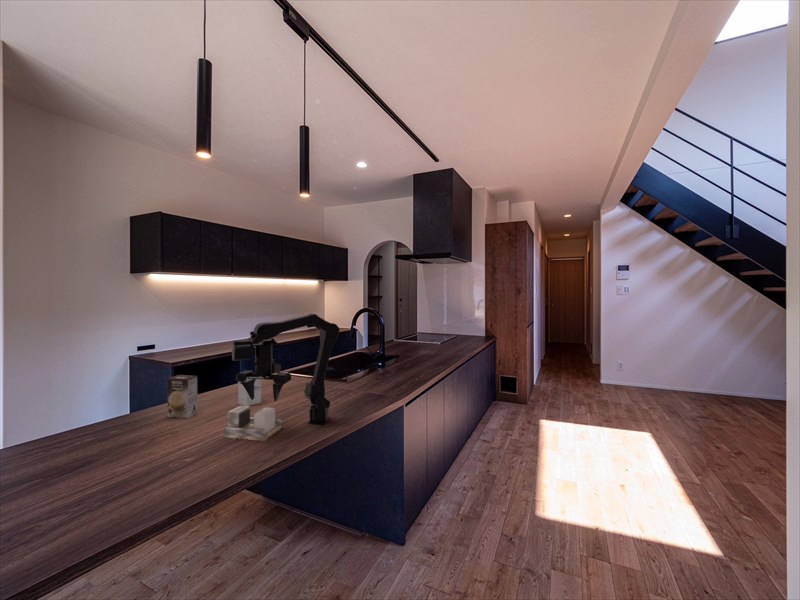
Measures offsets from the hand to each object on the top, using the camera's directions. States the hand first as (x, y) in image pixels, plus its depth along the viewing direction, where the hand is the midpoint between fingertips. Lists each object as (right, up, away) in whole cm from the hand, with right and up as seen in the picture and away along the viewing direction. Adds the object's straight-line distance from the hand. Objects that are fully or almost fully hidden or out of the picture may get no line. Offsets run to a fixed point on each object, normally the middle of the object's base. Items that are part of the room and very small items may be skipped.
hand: (264, 400), depth 126 cm
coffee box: (-40, -11, +17) cm, 46 cm away
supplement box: (-19, -11, +33) cm, 40 cm away
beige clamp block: (-4, -12, +1) cm, 13 cm away
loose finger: (0, -11, 0) cm, 11 cm away
